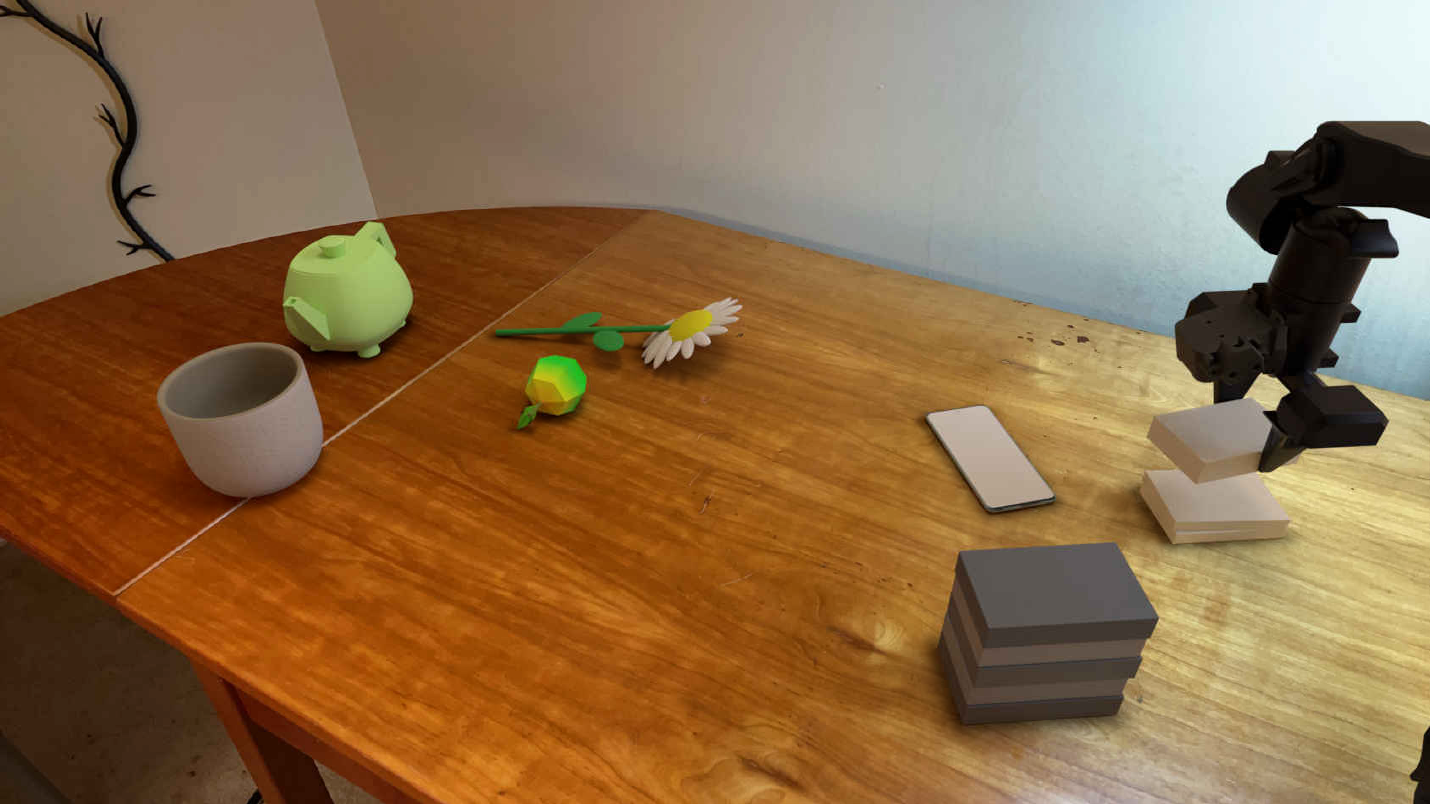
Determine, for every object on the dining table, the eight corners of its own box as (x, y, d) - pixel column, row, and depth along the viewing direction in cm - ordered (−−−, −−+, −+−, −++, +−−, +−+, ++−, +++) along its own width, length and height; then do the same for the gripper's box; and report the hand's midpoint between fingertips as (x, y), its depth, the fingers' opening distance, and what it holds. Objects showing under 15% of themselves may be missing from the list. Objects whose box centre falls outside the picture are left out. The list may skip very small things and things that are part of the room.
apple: (564, 331, 95) (522, 378, 89) (608, 372, 97) (571, 421, 90) (531, 365, 100) (489, 412, 93) (574, 404, 101) (535, 453, 94)
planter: (231, 532, 83) (188, 440, 76) (178, 470, 90) (134, 380, 83) (357, 467, 90) (327, 377, 83) (298, 413, 97) (267, 327, 90)
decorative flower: (482, 381, 105) (736, 378, 98) (471, 344, 102) (731, 339, 95) (522, 328, 115) (754, 322, 108) (512, 293, 112) (750, 285, 106)
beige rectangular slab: (1285, 538, 81) (1295, 519, 80) (1170, 545, 80) (1178, 526, 79) (1241, 483, 87) (1250, 464, 85) (1134, 489, 86) (1141, 470, 85)
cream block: (1297, 463, 76) (1308, 441, 75) (1195, 485, 74) (1204, 462, 73) (1242, 418, 81) (1251, 396, 80) (1145, 437, 79) (1153, 415, 78)
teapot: (365, 390, 100) (335, 291, 92) (258, 375, 102) (220, 277, 95) (447, 298, 115) (427, 207, 108) (351, 288, 118) (325, 197, 110)
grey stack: (1118, 715, 67) (1161, 617, 60) (962, 725, 66) (988, 628, 60) (1081, 638, 72) (1117, 541, 66) (937, 647, 72) (958, 550, 65)
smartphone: (989, 511, 83) (924, 413, 95) (988, 515, 83) (923, 417, 95) (1059, 498, 84) (985, 403, 96) (1057, 503, 85) (985, 407, 96)
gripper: (1152, 233, 76) (1105, 384, 85) (1277, 359, 61) (1204, 525, 70) (1280, 228, 76) (1220, 379, 86) (1436, 351, 62) (1342, 517, 71)
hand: (1241, 443), depth 78 cm, fingers closed on cream block, 7 cm apart
